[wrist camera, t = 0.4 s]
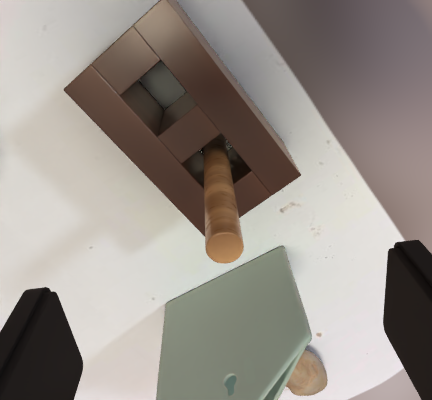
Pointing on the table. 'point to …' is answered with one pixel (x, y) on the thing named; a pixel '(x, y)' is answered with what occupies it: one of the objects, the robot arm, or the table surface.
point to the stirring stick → (220, 205)
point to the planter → (234, 335)
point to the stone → (307, 376)
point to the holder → (181, 114)
